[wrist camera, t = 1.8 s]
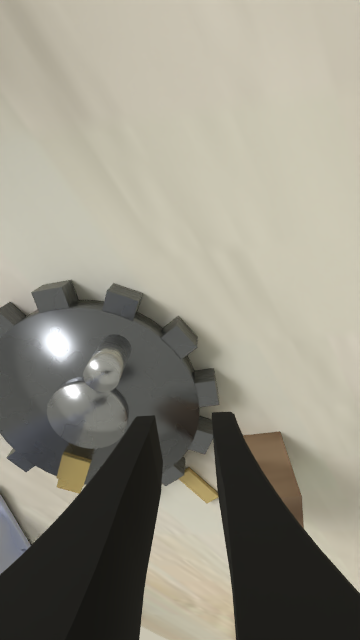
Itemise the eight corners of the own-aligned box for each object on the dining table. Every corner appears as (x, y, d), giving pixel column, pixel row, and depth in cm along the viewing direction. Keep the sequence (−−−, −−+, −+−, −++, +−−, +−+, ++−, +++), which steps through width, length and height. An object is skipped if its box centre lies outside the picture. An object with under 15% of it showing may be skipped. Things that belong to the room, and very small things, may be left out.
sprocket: (232, 470, 23) (239, 530, 19) (32, 488, 26) (0, 547, 21) (193, 257, 17) (192, 279, 13) (-66, 304, 19) (-137, 337, 15)
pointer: (218, 493, 25) (218, 497, 24) (206, 499, 25) (206, 503, 25) (188, 467, 24) (188, 470, 23) (177, 474, 24) (176, 477, 24)
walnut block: (283, 472, 23) (304, 543, 19) (230, 477, 24) (238, 547, 19) (280, 431, 22) (302, 497, 17) (223, 437, 22) (229, 503, 18)
